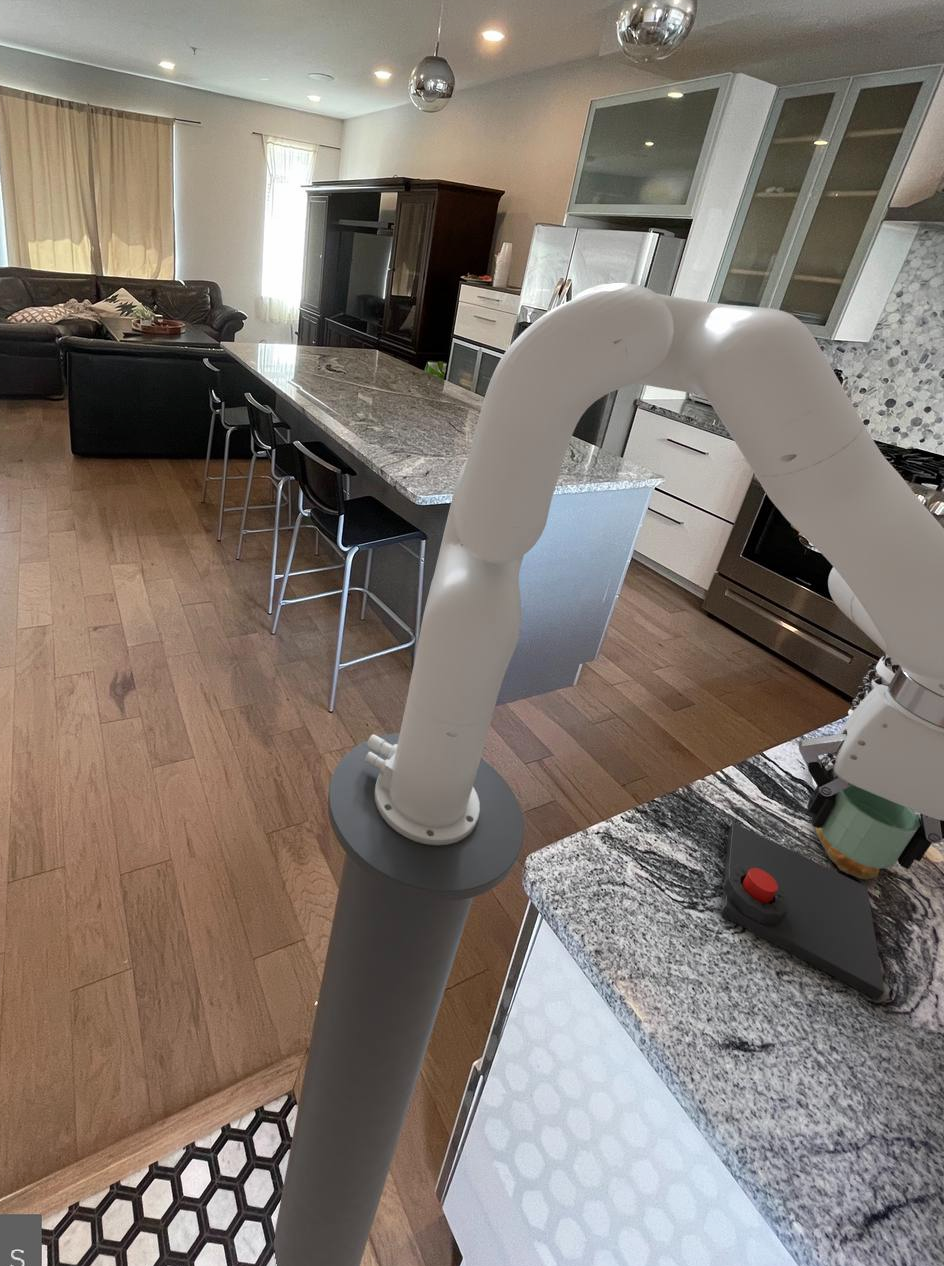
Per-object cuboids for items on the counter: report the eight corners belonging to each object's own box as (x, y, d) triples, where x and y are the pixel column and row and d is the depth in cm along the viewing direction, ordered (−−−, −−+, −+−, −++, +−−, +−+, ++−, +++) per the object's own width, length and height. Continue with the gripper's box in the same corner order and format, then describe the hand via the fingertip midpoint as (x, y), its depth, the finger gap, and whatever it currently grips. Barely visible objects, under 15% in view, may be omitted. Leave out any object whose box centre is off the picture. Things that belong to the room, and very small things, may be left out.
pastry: (888, 896, 72) (904, 872, 71) (821, 868, 75) (835, 845, 73) (867, 837, 80) (881, 815, 79) (807, 814, 83) (819, 792, 81)
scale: (716, 913, 67) (727, 893, 66) (725, 828, 78) (734, 810, 77) (878, 1001, 60) (892, 981, 59) (862, 895, 72) (873, 876, 71)
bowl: (818, 846, 65) (841, 806, 62) (815, 805, 70) (836, 768, 68) (898, 884, 62) (925, 843, 59) (888, 838, 67) (913, 800, 65)
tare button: (741, 893, 66) (748, 881, 66) (743, 874, 69) (748, 863, 68) (771, 908, 65) (778, 897, 65) (771, 889, 68) (778, 877, 67)
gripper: (1048, 722, 58) (952, 859, 65) (829, 646, 66) (764, 776, 72) (1080, 768, 52) (970, 914, 59) (835, 679, 60) (763, 817, 66)
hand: (857, 837), depth 66 cm, fingers closed on bowl, 6 cm apart
